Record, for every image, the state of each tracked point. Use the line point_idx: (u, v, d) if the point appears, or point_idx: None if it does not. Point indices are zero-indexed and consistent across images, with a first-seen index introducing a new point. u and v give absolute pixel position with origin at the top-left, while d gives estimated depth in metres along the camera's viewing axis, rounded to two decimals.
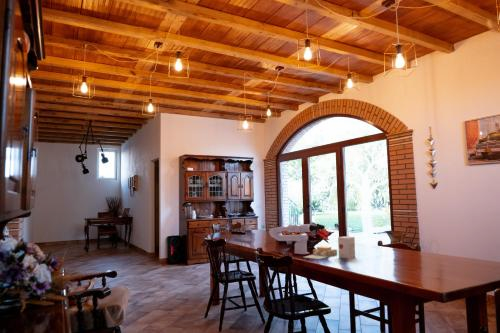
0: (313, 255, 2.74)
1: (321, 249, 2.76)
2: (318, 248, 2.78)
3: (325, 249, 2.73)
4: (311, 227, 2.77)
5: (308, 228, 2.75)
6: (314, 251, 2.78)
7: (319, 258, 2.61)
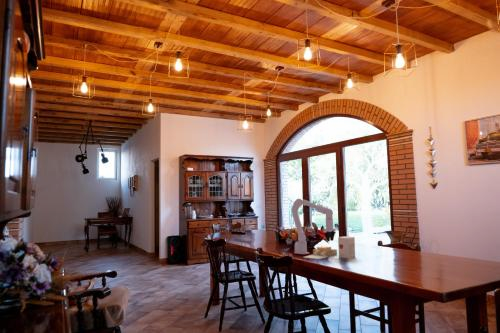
0: (313, 255, 2.74)
1: (321, 249, 2.76)
2: (318, 248, 2.78)
3: (325, 249, 2.73)
4: (328, 233, 2.82)
5: (324, 232, 2.80)
6: (314, 251, 2.78)
7: (319, 258, 2.61)
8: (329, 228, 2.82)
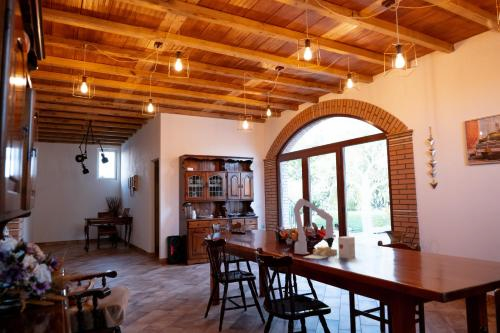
0: (313, 255, 2.74)
1: (321, 249, 2.76)
2: (318, 248, 2.78)
3: (325, 249, 2.73)
4: None
5: (324, 238, 2.79)
6: (314, 251, 2.78)
7: (319, 258, 2.61)
8: (329, 234, 2.82)
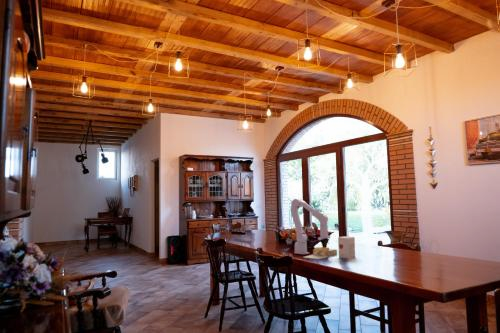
0: (313, 255, 2.74)
1: (319, 250, 2.73)
2: (316, 249, 2.75)
3: (323, 250, 2.71)
4: None
5: None
6: (314, 251, 2.78)
7: (319, 258, 2.61)
8: (324, 235, 2.76)
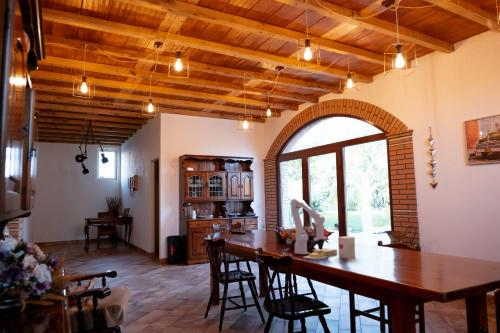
0: None
1: (317, 254, 2.71)
2: None
3: None
4: None
5: (315, 240, 2.69)
6: (314, 251, 2.78)
7: (319, 258, 2.61)
8: (320, 236, 2.72)
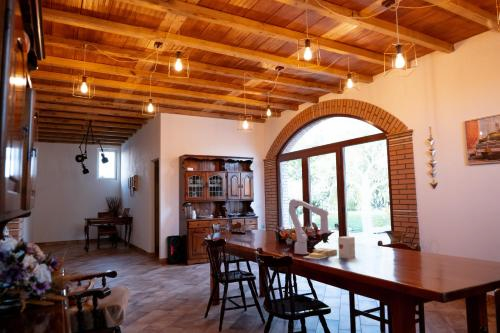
0: None
1: (317, 254, 2.71)
2: None
3: None
4: None
5: None
6: (314, 251, 2.78)
7: (319, 258, 2.61)
8: (324, 230, 2.77)
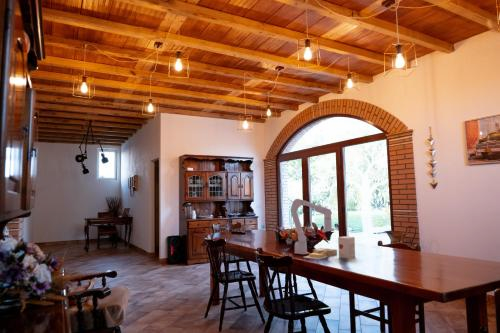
0: None
1: (317, 254, 2.71)
2: None
3: None
4: None
5: None
6: (314, 251, 2.78)
7: (319, 258, 2.61)
8: (328, 228, 2.85)
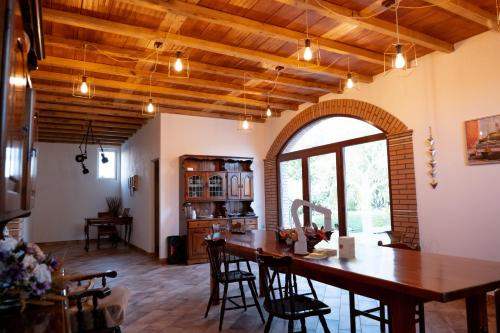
0: None
1: (317, 254, 2.71)
2: None
3: None
4: None
5: None
6: (314, 251, 2.78)
7: (319, 258, 2.61)
8: (328, 228, 2.85)
